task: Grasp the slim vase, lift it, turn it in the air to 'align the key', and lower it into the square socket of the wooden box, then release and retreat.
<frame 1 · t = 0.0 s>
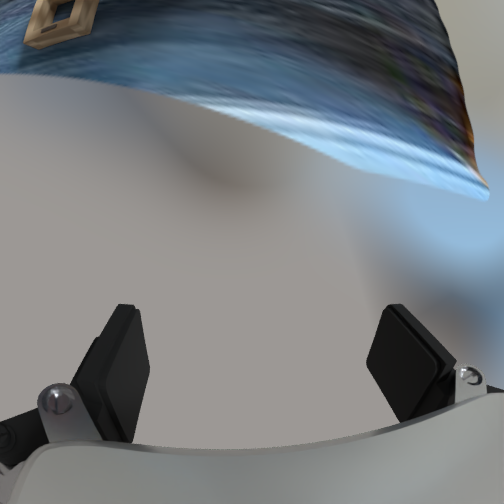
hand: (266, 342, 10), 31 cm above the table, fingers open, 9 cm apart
wooden box: (69, 15, 25), on the table
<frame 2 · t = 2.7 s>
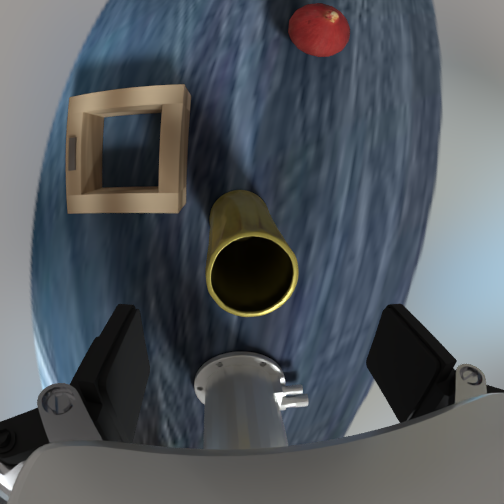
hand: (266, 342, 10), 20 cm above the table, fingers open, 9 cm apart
vase: (239, 218, 29), on the table
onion: (307, 43, 23), on the table
wooden box: (135, 150, 25), on the table
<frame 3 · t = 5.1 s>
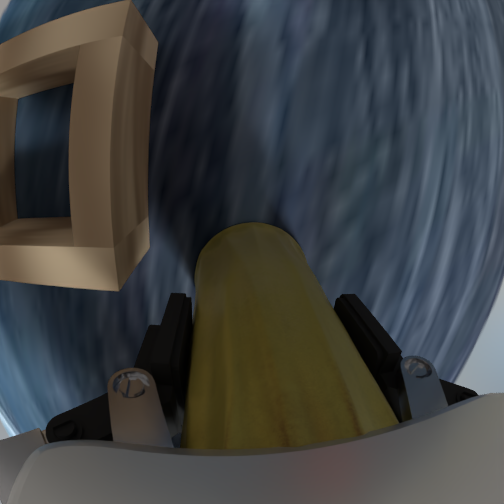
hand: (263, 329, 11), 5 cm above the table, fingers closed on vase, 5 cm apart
vase: (250, 274, 16), on the table, touching gripper
wooden box: (58, 150, 12), on the table
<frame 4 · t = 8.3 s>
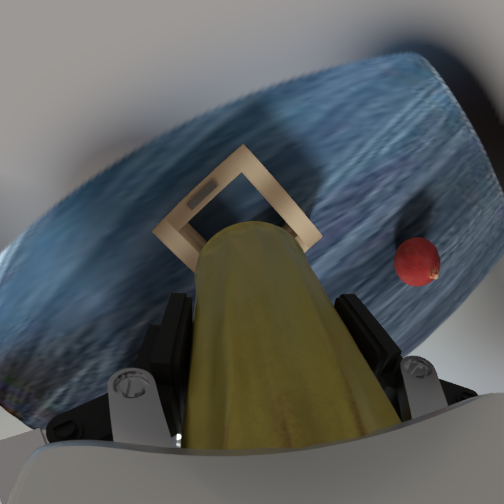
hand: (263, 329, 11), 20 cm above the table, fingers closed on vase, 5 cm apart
vase: (251, 273, 16), point 15 cm above the table, touching gripper
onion: (400, 250, 33), on the table
wooden box: (236, 220, 30), on the table
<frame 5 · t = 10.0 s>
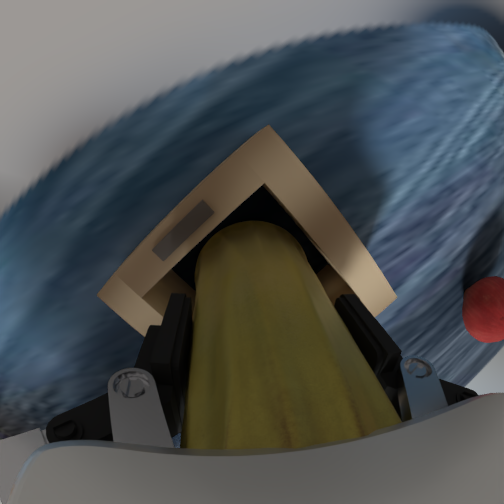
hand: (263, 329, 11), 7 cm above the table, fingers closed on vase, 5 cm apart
vase: (251, 273, 16), point 2 cm above the table, touching gripper
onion: (465, 290, 21), on the table
wooden box: (247, 261, 18), on the table
when the fingers open (6 cm above the table, at t = 11.4 s): vase drops 1 cm, resting in wooden box.
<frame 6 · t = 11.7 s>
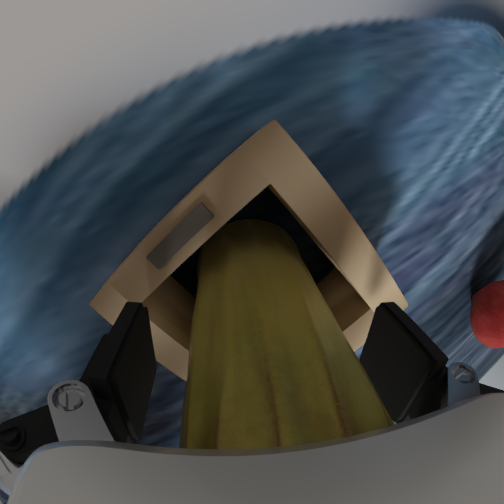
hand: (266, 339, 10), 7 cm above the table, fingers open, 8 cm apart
vase: (248, 267, 17), resting in wooden box
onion: (473, 294, 20), on the table
wooden box: (249, 266, 17), on the table
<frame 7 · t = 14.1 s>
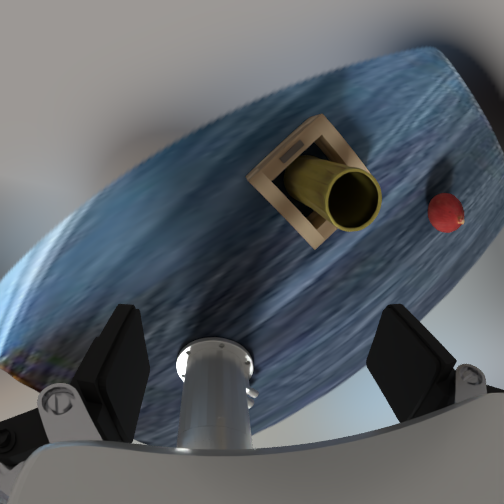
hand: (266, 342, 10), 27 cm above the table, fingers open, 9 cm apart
vase: (306, 178, 35), resting in wooden box
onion: (430, 206, 37), on the table
wooden box: (307, 177, 34), on the table
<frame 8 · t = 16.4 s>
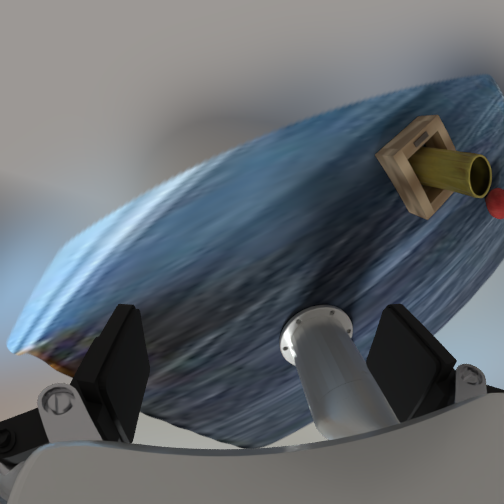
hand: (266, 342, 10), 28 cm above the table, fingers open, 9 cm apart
vase: (414, 164, 37), resting in wooden box
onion: (485, 198, 40), on the table
wooden box: (415, 163, 37), on the table
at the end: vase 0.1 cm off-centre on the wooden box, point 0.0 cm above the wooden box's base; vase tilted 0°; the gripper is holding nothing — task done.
